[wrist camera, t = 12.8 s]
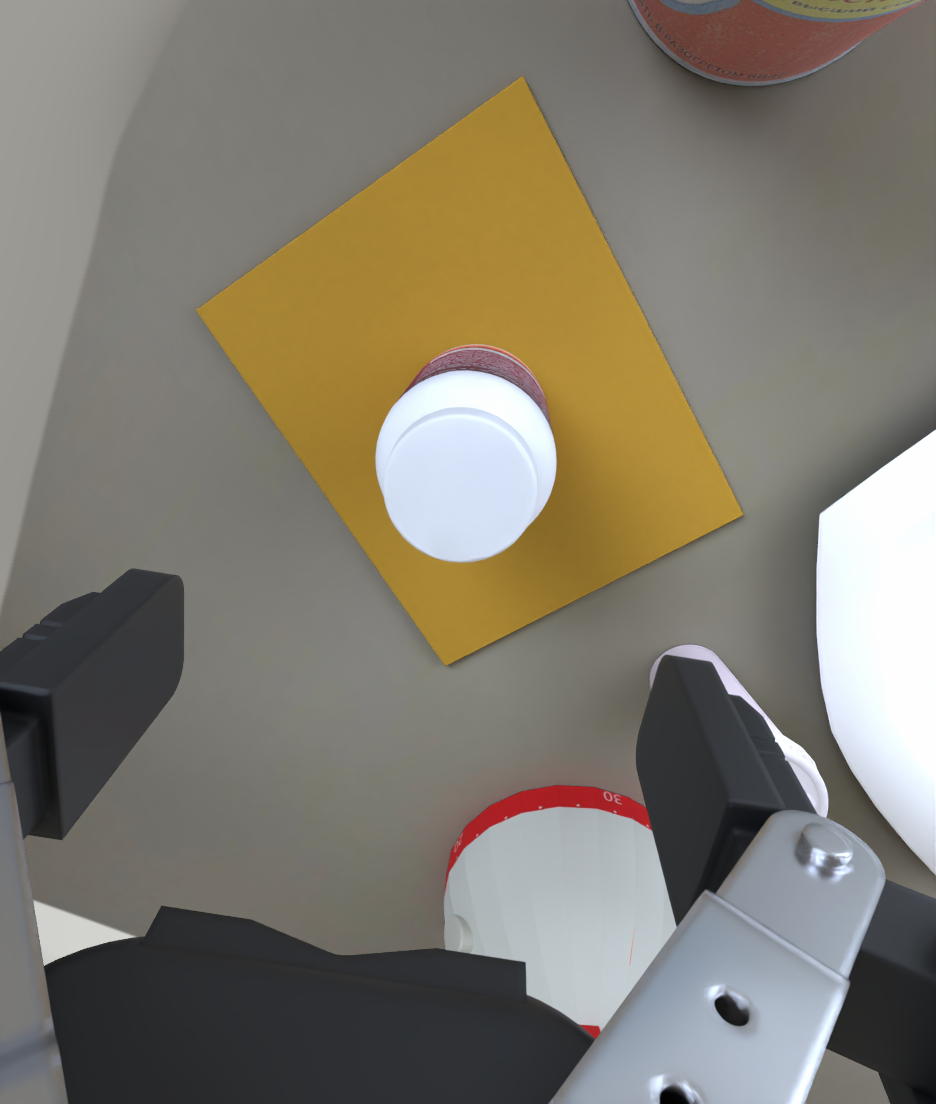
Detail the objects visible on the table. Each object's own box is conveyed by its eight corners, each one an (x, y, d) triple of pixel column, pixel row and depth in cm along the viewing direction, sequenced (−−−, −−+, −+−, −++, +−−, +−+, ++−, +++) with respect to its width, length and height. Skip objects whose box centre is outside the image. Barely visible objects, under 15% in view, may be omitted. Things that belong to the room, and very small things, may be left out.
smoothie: (778, 653, 36) (930, 878, 23) (706, 748, 38) (806, 1002, 25) (665, 599, 35) (754, 799, 22) (598, 699, 37) (644, 934, 24)
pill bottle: (389, 361, 31) (329, 411, 21) (531, 327, 30) (540, 362, 20) (426, 496, 33) (388, 601, 23) (559, 468, 33) (580, 564, 22)
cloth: (198, 310, 31) (195, 310, 31) (522, 77, 27) (522, 75, 27) (445, 663, 37) (445, 666, 37) (742, 512, 33) (744, 515, 33)
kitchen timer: (445, 960, 45) (415, 1275, 31) (447, 779, 40) (411, 1059, 26) (674, 975, 44) (747, 1303, 30) (705, 793, 39) (811, 1087, 25)
